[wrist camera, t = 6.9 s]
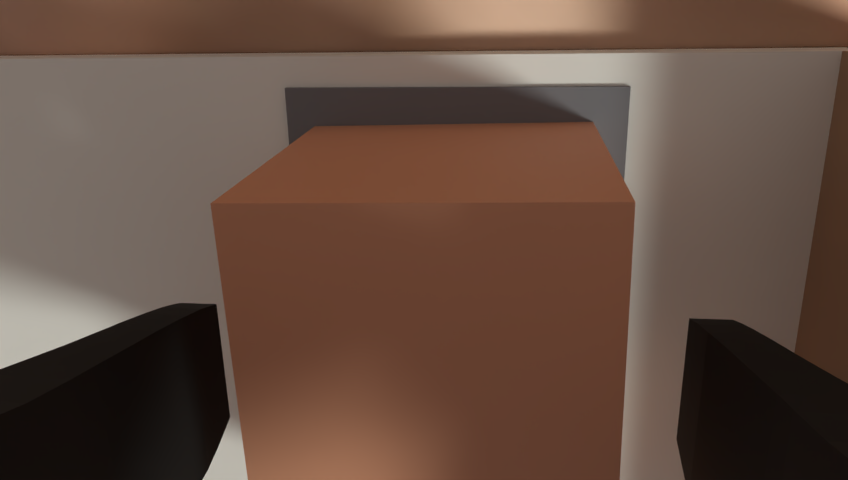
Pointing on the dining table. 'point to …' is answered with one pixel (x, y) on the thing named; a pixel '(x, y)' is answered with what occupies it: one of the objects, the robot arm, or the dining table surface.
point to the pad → (463, 108)
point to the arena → (273, 72)
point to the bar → (430, 303)
